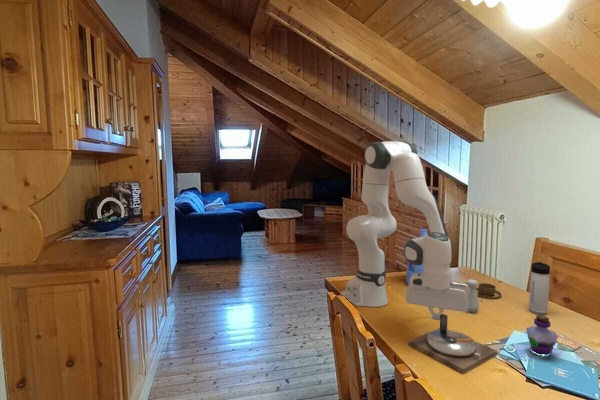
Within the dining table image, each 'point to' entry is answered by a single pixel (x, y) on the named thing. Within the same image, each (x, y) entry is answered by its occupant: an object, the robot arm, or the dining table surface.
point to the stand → (454, 362)
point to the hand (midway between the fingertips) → (435, 319)
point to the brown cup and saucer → (487, 291)
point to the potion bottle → (541, 336)
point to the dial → (451, 341)
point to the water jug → (415, 268)
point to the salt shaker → (472, 296)
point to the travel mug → (539, 288)
